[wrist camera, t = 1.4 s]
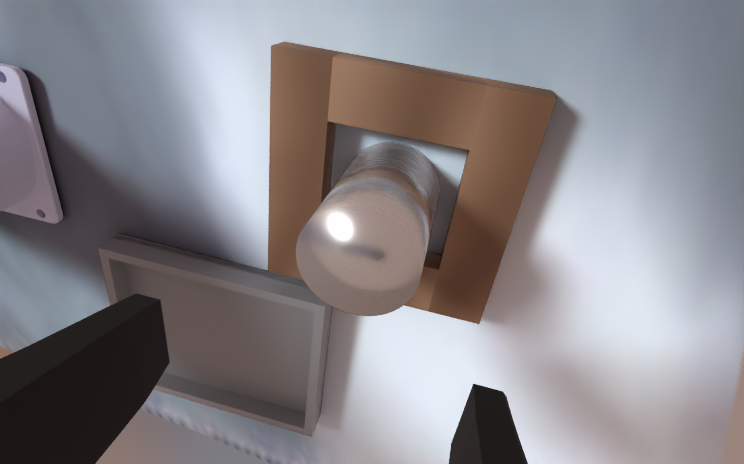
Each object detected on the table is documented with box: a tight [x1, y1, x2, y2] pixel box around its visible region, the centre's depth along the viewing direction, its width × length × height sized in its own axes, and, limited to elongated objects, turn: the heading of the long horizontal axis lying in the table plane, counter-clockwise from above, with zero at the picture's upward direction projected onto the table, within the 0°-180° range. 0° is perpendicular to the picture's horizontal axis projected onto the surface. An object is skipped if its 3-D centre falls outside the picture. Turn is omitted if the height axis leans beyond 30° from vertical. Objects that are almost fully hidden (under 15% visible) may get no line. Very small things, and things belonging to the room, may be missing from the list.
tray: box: [98, 234, 332, 436], centre depth 25 cm, size 12×10×2 cm
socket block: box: [268, 42, 557, 324], centre depth 18 cm, size 10×10×1 cm
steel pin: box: [296, 142, 440, 316], centre depth 16 cm, size 4×4×6 cm
